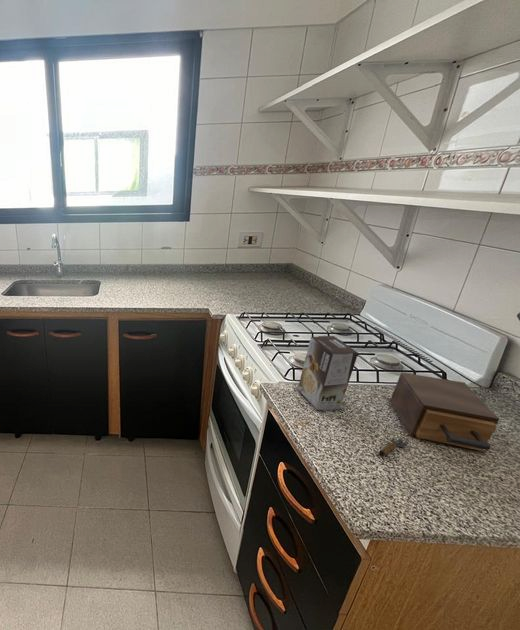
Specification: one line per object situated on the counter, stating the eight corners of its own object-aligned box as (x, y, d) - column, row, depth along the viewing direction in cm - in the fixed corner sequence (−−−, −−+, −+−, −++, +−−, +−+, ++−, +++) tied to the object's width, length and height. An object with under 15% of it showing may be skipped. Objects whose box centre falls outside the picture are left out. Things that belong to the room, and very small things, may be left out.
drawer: (496, 469, 67) (513, 442, 65) (426, 453, 71) (439, 427, 68) (453, 414, 82) (464, 390, 79) (397, 403, 86) (406, 380, 83)
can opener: (383, 457, 71) (385, 453, 71) (371, 449, 73) (373, 445, 73) (410, 445, 74) (412, 441, 74) (398, 438, 76) (400, 434, 76)
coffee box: (341, 409, 85) (360, 353, 79) (316, 410, 85) (333, 354, 79) (318, 387, 94) (334, 335, 87) (295, 388, 94) (309, 335, 87)
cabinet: (481, 451, 73) (499, 419, 69) (410, 436, 77) (424, 404, 73) (450, 411, 84) (464, 382, 81) (389, 400, 88) (401, 372, 85)
